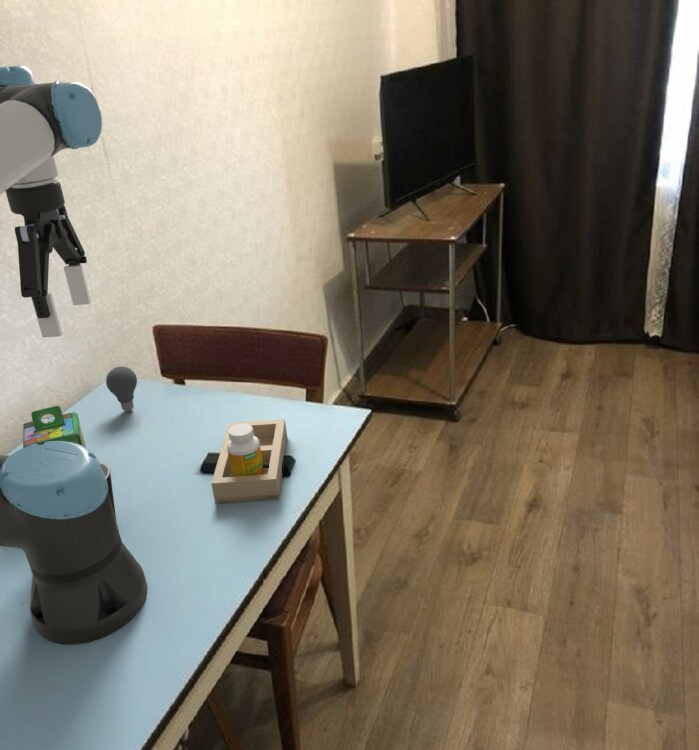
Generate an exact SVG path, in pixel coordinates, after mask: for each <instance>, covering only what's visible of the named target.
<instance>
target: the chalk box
mask: <svg viewBox="0 0 699 750" xmlns="http://www.w3.org/2000/svg"><path fill="white" fill-rule="evenodd" d="M30 414H31V421H29V422H26V423H23V424H22V428H23V429H22V430H23V431H22V434H23V436H22V448H25V447H27V446H30V445H33V444H38V445H43V444H44V443H45V442H48V441H65V442H72V443H76V444H79V445H81V446H84V447H86V448H87V446H86V442H85V439H84V438H85V437H84V434H83V430H82V426H81V422H80V418H79V415H78V414H79V413H77V412H68V413H62V409H61V406H60V405H54V406H49V407H46V408H42V409H41V408H40V409H37V410H34V411H31V413H30ZM47 415H52V416H48V417H46V418H43V417H44V416H47Z"/></svg>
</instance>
